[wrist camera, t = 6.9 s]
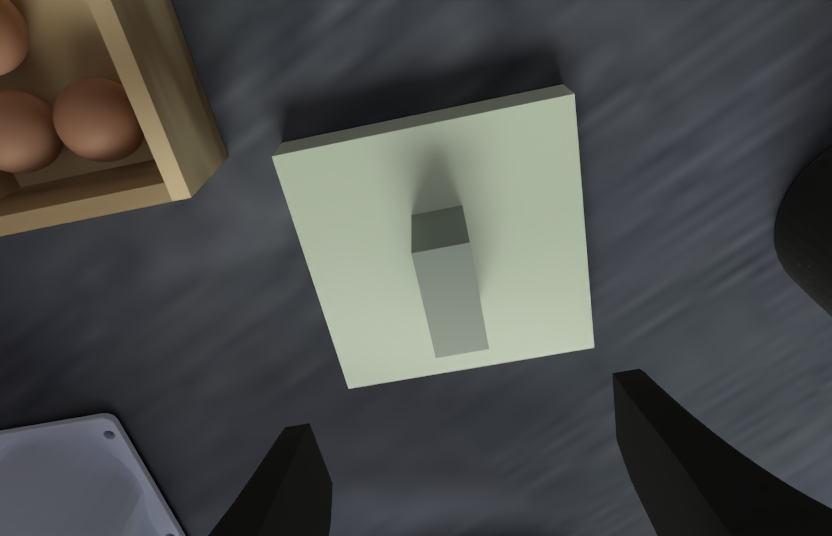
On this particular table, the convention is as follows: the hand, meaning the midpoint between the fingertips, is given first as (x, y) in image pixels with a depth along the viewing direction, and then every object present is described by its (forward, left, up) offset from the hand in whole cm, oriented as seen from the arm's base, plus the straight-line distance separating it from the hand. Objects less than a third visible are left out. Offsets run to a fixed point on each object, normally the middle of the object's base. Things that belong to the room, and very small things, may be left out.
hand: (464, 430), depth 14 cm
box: (+9, +11, -10) cm, 17 cm away
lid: (0, 0, -10) cm, 10 cm away
